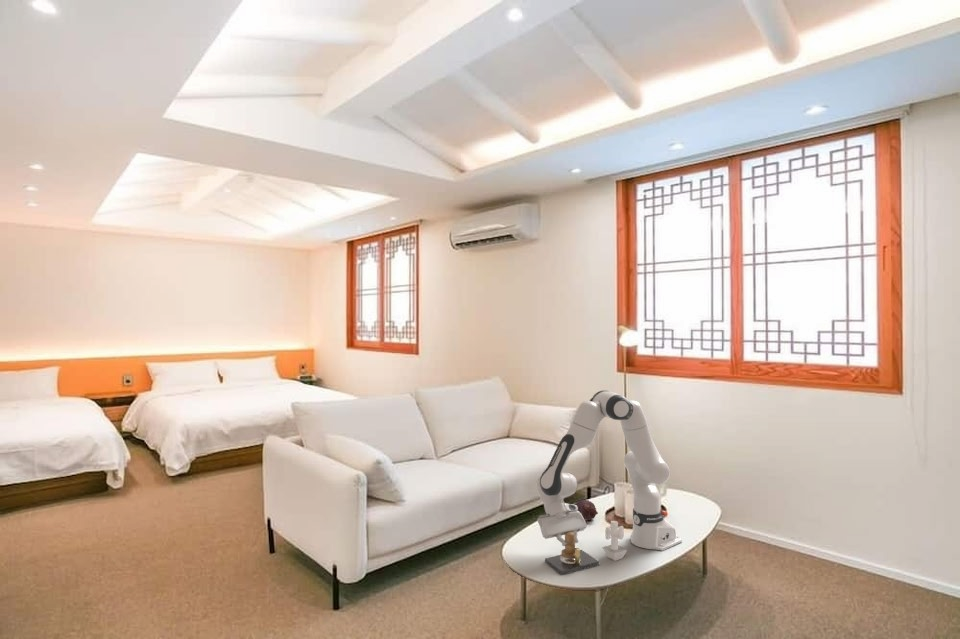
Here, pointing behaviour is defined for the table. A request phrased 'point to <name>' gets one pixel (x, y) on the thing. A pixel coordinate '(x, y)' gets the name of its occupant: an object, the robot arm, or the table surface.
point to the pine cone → (586, 509)
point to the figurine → (614, 541)
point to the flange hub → (569, 545)
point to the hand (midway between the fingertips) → (570, 544)
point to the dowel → (577, 556)
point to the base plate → (571, 563)
